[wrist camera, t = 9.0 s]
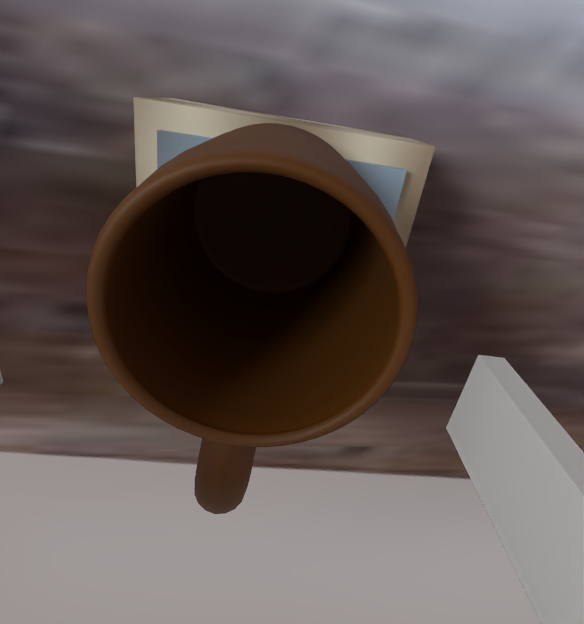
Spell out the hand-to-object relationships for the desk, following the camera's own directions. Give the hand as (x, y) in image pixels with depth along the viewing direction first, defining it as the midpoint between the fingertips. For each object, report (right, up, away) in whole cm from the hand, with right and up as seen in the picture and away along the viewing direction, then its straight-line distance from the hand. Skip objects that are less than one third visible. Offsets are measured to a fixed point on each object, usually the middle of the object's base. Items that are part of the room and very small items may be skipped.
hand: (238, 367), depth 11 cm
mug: (0, +4, +7) cm, 8 cm away
